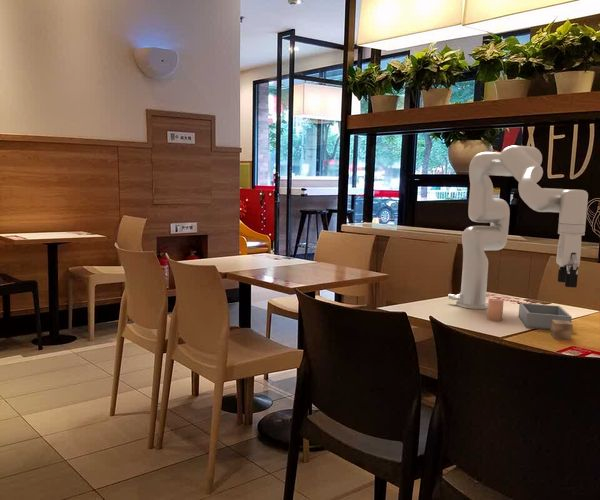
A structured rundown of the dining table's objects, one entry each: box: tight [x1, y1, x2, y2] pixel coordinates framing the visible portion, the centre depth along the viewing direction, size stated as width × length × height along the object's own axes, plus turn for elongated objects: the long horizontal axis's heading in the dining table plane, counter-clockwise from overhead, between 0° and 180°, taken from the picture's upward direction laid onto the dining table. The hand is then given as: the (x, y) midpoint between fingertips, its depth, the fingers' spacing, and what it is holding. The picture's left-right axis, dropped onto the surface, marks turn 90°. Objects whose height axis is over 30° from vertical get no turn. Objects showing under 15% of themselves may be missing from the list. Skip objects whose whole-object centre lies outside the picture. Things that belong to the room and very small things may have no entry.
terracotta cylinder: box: [486, 298, 505, 322], centre depth 198 cm, size 5×5×7 cm
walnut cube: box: [550, 320, 574, 341], centre depth 176 cm, size 5×5×5 cm
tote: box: [518, 302, 572, 331], centre depth 194 cm, size 14×18×5 cm
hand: (566, 284), depth 175 cm, fingers open, 9 cm apart
